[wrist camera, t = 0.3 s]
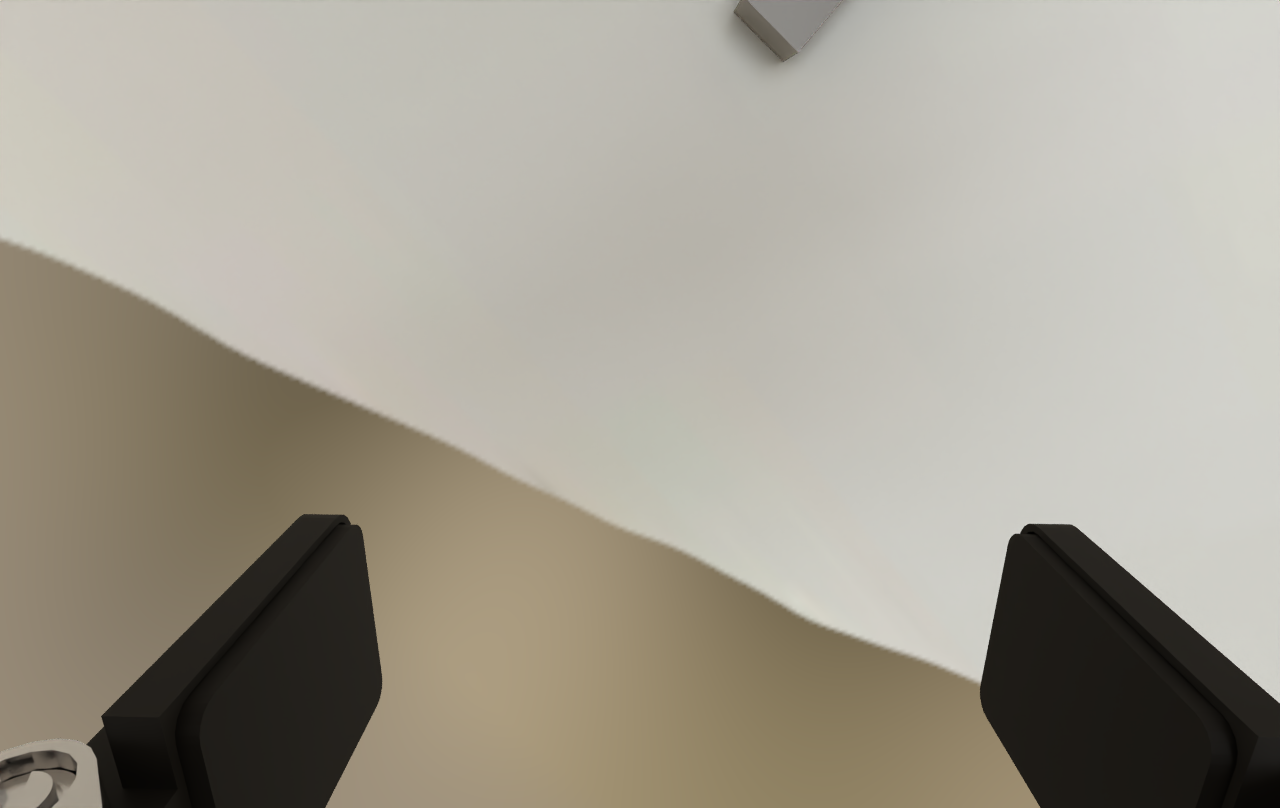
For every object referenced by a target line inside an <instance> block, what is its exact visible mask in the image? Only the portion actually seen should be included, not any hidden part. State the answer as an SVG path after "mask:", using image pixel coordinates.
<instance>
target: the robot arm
mask: <svg viewBox="0 0 1280 808" xmlns="http://www.w3.org/2000/svg"><path fill="white" fill-rule="evenodd" d="M381 689H382V673H381V665H380V658H379V651H378V643H377V636H376V629H375V621H374V614H373V607H372V599H371V592H370V585H369V577H368V570H367V563H366V555H365V548H364V540H363V534H362V530H361V528H360V527H359V526H358V525H351V523H350V521H349V520H348V518H347V517H346V516H345V515H319V514H318V515H317V514H314V515H313V514H304V515H302V516H301V517H299V518H298V519H297V520H296V521H295V522H294V523H293V524H292V525H291V526H290V527H289V528H288V529H287V530H286V531H285V532H284V533H283V534H282V535H281V536H280V537H279V538H278V539H277V540H276V541H275V542H274V543H273V544H272V545H271V546H270V547H269V548H268V549H267V550H266V551H265V552H264V553H263V554H262V555H261V556H260V557H259V558H258V559H257V560H256V561H255V562H254V563H253V564H252V565H251V566H250V567H249V568H248V569H247V570H246V571H245V572H244V573H243V574H242V575H241V577H239V578H238V579H237V580H236V581H235V582H234V583H233V584H232V586H230V587H229V588H228V589H227V591H225V592H224V593H223V594H222V595H221V597H219V598H218V599H217V600H216V601H215V602H214V603H213V604H212V606H211V607H209V609H207V610H206V611H205V613H203V614H202V616H201V617H200V618H199V619H198V620H197V621H196V622H195V623H194V624H193V625H192V626H191V627H190V628H189V629H188V630H187V631H186V632H185V633H184V634H183V635H182V636H181V637H180V638H179V639H178V640H177V641H176V642H175V643H174V644H173V645H172V646H171V647H170V648H169V649H168V650H167V651H166V652H165V653H164V654H163V655H162V656H161V657H160V658H159V659H158V660H157V661H156V662H155V663H154V664H153V665H152V666H151V667H150V668H149V669H148V670H147V671H146V672H145V673H144V674H143V675H142V676H141V677H140V678H139V679H138V680H137V681H136V682H135V683H134V684H133V685H132V686H131V687H130V688H129V689H128V690H127V691H126V692H125V693H124V694H123V695H122V696H121V697H120V698H119V699H118V700H117V701H116V702H115V703H114V704H113V705H112V706H111V707H110V708H109V709H108V710H107V711H106V712H105V713H104V714H103V715H102V716H101V717H102V720H103V724H104V727H103V728H102V729H101V730H100V731H99V732H98V733H97V734H96V735H95V736H94V737H93V738H92V739H91V740H90V742H88V744H86V745H85V744H83V743H81V742H80V741H78V740H68V739H51V740H44V741H37V742H32V743H28V744H25V745H21V746H18V747H15V748H11V749H8V750H5V751H3V752H0V808H325V807H326V805H327V803H328V801H329V799H330V797H331V795H332V793H333V791H334V789H335V787H336V785H337V783H338V781H339V779H340V777H341V775H342V774H343V771H344V770H345V768H346V766H347V764H348V762H349V760H350V757H351V756H352V754H353V752H354V750H355V748H356V746H357V744H358V742H359V740H360V738H361V736H362V734H363V732H364V730H365V728H366V726H367V724H368V722H369V720H370V718H371V716H372V714H373V712H374V711H375V708H376V707H377V704H378V702H379V699H380V695H381ZM980 699H981V704H982V708H983V711H984V713H985V715H986V717H987V719H988V721H989V722H990V724H991V726H992V727H993V729H994V731H995V732H996V734H997V736H998V737H999V739H1000V741H1001V742H1002V744H1003V746H1004V747H1005V749H1006V751H1007V752H1008V754H1009V755H1010V757H1011V759H1012V760H1013V762H1014V764H1015V766H1016V767H1017V769H1018V771H1019V772H1020V774H1021V776H1022V777H1023V779H1024V781H1025V783H1026V784H1027V786H1028V788H1029V789H1030V791H1031V793H1032V794H1033V796H1034V797H1035V799H1036V801H1037V803H1038V804H1039V806H1040V808H1280V703H1278V702H1277V701H1276V700H1275V699H1274V698H1273V697H1272V696H1270V695H1269V694H1268V693H1267V692H1266V691H1265V690H1263V689H1262V688H1261V687H1260V686H1259V685H1258V684H1257V683H1255V682H1254V681H1253V680H1252V679H1251V678H1250V677H1248V676H1247V675H1246V674H1245V673H1244V672H1243V671H1242V670H1240V669H1239V668H1238V667H1237V666H1236V665H1235V664H1233V663H1232V662H1231V661H1230V660H1229V659H1228V658H1227V657H1225V656H1224V655H1223V654H1222V653H1221V652H1220V651H1218V650H1217V649H1216V648H1215V647H1214V646H1213V645H1212V644H1210V643H1209V642H1208V641H1207V640H1206V639H1205V638H1203V637H1202V636H1201V635H1200V634H1199V633H1198V632H1197V631H1195V630H1194V629H1193V628H1192V627H1191V626H1190V625H1188V624H1187V623H1186V622H1185V621H1184V620H1183V619H1182V618H1180V617H1179V616H1178V615H1177V614H1176V613H1175V612H1173V611H1172V610H1171V609H1170V608H1169V607H1168V606H1167V605H1165V604H1164V603H1163V602H1162V601H1161V600H1160V599H1159V598H1157V597H1156V596H1155V595H1154V594H1153V593H1152V592H1150V591H1149V590H1148V589H1147V588H1146V587H1145V586H1144V585H1142V584H1141V583H1140V582H1139V581H1138V580H1137V579H1135V578H1134V577H1133V576H1132V575H1131V574H1130V573H1129V572H1127V571H1126V570H1125V569H1124V568H1123V567H1122V566H1120V565H1119V564H1118V563H1117V562H1116V561H1115V560H1114V559H1112V558H1111V557H1110V556H1109V555H1108V554H1107V553H1105V552H1104V551H1103V550H1102V549H1101V548H1100V547H1099V546H1097V545H1096V544H1095V543H1094V542H1093V541H1092V540H1090V539H1089V538H1088V537H1087V536H1086V535H1085V534H1084V533H1082V532H1081V531H1080V530H1079V529H1078V528H1076V527H1075V526H1073V525H1067V524H1028V525H1026V526H1024V528H1023V529H1022V531H1021V533H1020V534H1014V535H1013V536H1012V537H1011V538H1010V540H1009V543H1008V547H1007V552H1006V557H1005V563H1004V568H1003V573H1002V578H1001V583H1000V588H999V593H998V599H997V604H996V609H995V614H994V619H993V624H992V629H991V635H990V640H989V645H988V650H987V655H986V660H985V665H984V671H983V676H982V681H981V686H980Z"/></svg>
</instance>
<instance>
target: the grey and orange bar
mask: <svg viewBox="0 0 1280 808" xmlns="http://www.w3.org/2000/svg"><path fill="white" fill-rule="evenodd" d="M841 1H842V0H741V1H740V3H739V4H738V6H737V7H736V9H735V10H734V13H735V14H736V15H737V16H738V17H739V18H740V19H741V20H742V21H743V22H744V23H745V24H746V25H747V26H748V27H749V28H750V29H751V30H752V31H753V32H754V33H755V34H756V35H757V36H758V37H759V38H760V39H761V40H762V41H763V42H764V43H765V44H766V45H767V46H768V47H769V48H770V49H771V50H772V51H773V52H774V53H775V54H776V55H777V56H778V57H779V58H780V59H781V60H782V61H783V62H784V61H785V60H787V59H789V58H790V57H792V56H793V55H795V54H797V53H798V52H799V51H800V50H801V49H802V47H803V46H804V45H805V44H806V43H807V42H808V40H809V39H810V38H811V37H812V36H813V34H814V33H815V32H816V31H817V30H818V29H819V27H820V26H821V25H822V24H823V23H824V21H825V20H826V19H827V18H828V17H829V16H830V14H831V13H832V12H833V11H834V10H835V9H836V7H837V6H838V5H839V4H840V3H841Z"/></svg>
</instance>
